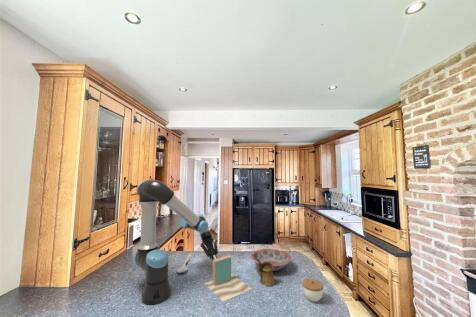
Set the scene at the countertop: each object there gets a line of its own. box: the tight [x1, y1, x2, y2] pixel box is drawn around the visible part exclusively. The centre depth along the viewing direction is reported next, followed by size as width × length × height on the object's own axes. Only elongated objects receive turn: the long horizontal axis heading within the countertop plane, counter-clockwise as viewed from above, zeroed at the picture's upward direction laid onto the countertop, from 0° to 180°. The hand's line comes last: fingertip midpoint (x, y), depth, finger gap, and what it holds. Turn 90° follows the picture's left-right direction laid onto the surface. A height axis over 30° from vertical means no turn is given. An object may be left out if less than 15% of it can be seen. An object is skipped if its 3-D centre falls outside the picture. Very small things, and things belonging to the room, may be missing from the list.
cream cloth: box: [204, 273, 253, 302], centre depth 117 cm, size 22×20×1 cm
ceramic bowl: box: [250, 248, 292, 272], centre depth 143 cm, size 29×29×8 cm
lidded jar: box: [301, 278, 324, 303], centre depth 106 cm, size 11×11×9 cm
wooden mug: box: [253, 254, 275, 287], centre depth 123 cm, size 9×14×18 cm, turn 97°
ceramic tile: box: [212, 254, 232, 286], centre depth 123 cm, size 3×12×14 cm, turn 127°
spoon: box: [176, 253, 193, 274], centre depth 149 cm, size 35×8×3 cm, turn 2°
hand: (217, 265), depth 129 cm, fingers closed
